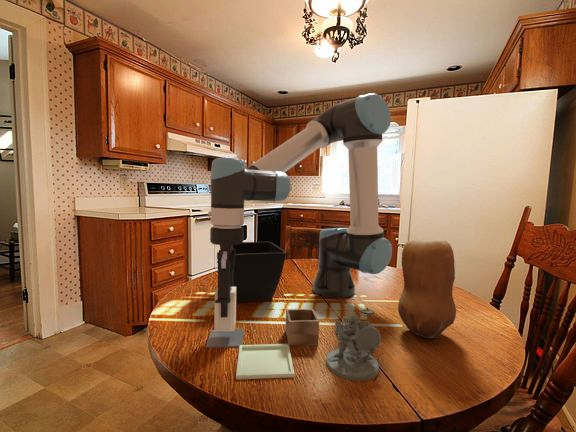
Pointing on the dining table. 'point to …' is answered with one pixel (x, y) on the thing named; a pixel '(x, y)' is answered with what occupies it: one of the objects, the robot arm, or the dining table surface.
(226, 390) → the dining table surface
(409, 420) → the dining table surface
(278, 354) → the green tray
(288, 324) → the walnut open box
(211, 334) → the slate coaster
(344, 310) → the dining table surface
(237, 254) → the flower pot
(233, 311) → the cream square pillar
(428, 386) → the dining table surface
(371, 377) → the figurine
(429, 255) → the butternut squash
